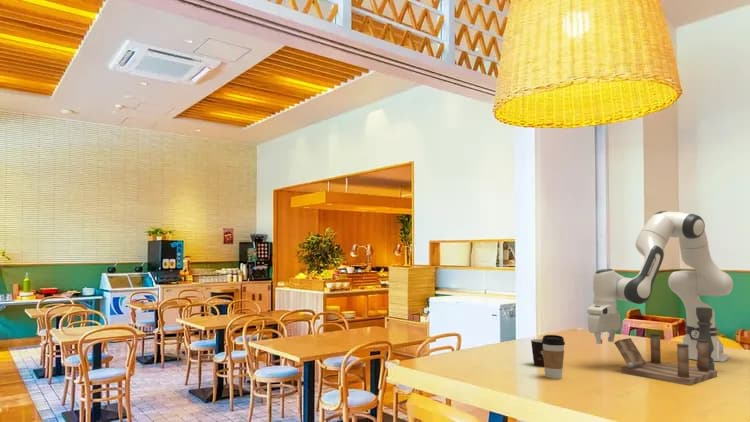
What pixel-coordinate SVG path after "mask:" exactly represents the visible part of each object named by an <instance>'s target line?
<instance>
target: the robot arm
mask: <svg viewBox="0 0 750 422" xmlns="http://www.w3.org/2000/svg"><path fill="white" fill-rule="evenodd" d="M705 226H706V224H705V221H704V219H703V218H702V216H700V215H699V214H698V215H697V214H695V213H687V212H682V211H666V210H662V211H658V212H655V213H654V215H652V216H651V218H649V219H648V221H646V223H645V224H644V226H643V227H642V228H641V230H640V232H639V234H638V235H637V238H636V240H635V247H636V250H637V251H638V253H639V254H641V255H642V256H643V257H644V261H643V263H642V266H641V268H640V270H639V273H638V274H637V275H636V276H634V277H625V276H624V275H621V274H620V273H617V272H616V270H615V269H612V268H606V269H605V268H602V269H597V270H596V271H595V273H594V275H593V281H592V284H593V285H592V287H593V288H592V289H593V300H592V301H593V303H592V304H591V305H590V306H589V307H587V310H586V313H587V314H588V315H587V330H588V332H589V333H591V334H594V337H595V340H596V342H595V343H596V344H598V345H601V344H603V339H602V333H609V335H608V337H607V342H609V343H614V342H615V336H616V333H617V332H616V331H620V330H621V328H622V323H621V322H622V321H621V314H620V313H619V310H618V309H617V307H618V306H617V300H618V301H624V302H630V303H633V304H636V305H642V304H645V303H647V302H648V301H649V299H651V295H652V293H653V286H654V282H655V280H656V277H657V275H658V272H659V270H660V268H661V265H662V262H663V260H664V255H665V253H664V252H665V251H664V250H665V248H666V245H667V244H668V243H669V240H670V238H678V243H679V251H680V255H681V256H680V257H681V260H682V262H683V263H684V264H685V265H686V266H687V267H688V266H689V267H690V268H692V269H694V270H685V269H684V270H677V271H673V272H671V273H670V275H669V276H668V279H667V284H668V287H669V289H670V290H671V291H672V292H673V293H674V294H676V296H677V297H678V298H679V299H681V301H682V303H683V305H684V308H685V315H686V316H685V318H686V325H685V328H684V329H685V333H686V334H685V335H684V336H683V337H682V342H681V344H687V345H689V347H688V349H689V360H695V361H698V360H697V357H698V350H697V348H696V344H697V340H698V336H699V326H698V324H697V322H699V320H698V318H697V316H696V307H705V308H712V319H711V321H710V323H712V325H711V327H710V336H711V339H712V343H713V346H714V350H713V352H712V353H711V354H712V355H711V357H712V358H713V360H714V361H713V362H727V361H728V359H730V355H729V354H725V352H724V343H723V342H722V341H721V340H720V338H719V337H718V332H719V327H716V318H715V317H716V316H715V315H716V313H715V310H714V308H713V307H711V305H709V304H707V303H705V302H703V301H702V300H701V298H700V296H706V297H708V296H709V297H722V296H728V295H729V294H731V292H732V290H733V288H734V282H733V281H734V280H733V279H732V277H731V276H730V275H729V274H728V273H727V272H725V271H723V270H722V269H720V268H719V267H718V266H717V265H716V264H715V262H714V260H713V259H712V256H711V253H710V248H709V247H710V246H709V242H708V236H707V232H706V230H705V228H706V227H705Z"/></svg>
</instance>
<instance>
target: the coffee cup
mask: <svg viewBox="0 0 750 422" xmlns="http://www.w3.org/2000/svg"><path fill="white" fill-rule="evenodd" d="M542 339H543V340H542V344H543V358H544V367H543V368H544V375H545V378H547V379H550V380H551V379H552V380H560V379H563V368H564V355H565V349H564V347H565V345H566V342H565V340H564V336H561V335H556V334H545V335H544V336H542Z"/></svg>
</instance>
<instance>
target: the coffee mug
mask: <svg viewBox="0 0 750 422" xmlns="http://www.w3.org/2000/svg"><path fill="white" fill-rule="evenodd" d="M542 340H543V338H542V339H541V338H533V339H530V343H531V350H532V351H531V352H532V360H533V366H536V367H538V368H540V367H541V368H545V367H544V358H543V344H542Z"/></svg>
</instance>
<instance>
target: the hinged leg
mask: <svg viewBox="0 0 750 422" xmlns="http://www.w3.org/2000/svg"><path fill="white" fill-rule="evenodd" d="M613 343H614V345H615V347H616V348H617V349H618V352H619V354H621V356H622V358H623V360H624V361H625V363H626V365H627V366H629V367H630V368H633V367H637V366H641V365H645V364H646V362H647V361H646V360H645V359H644V357H643V355H642V354H641V352H640V351H639V350H638V349H639V348H637V346H636V344H635V343H634V341H633V340H632V338H631V337H630V338H628V337H627V338H623V339H618V340H616V341H614V342H613Z"/></svg>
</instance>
